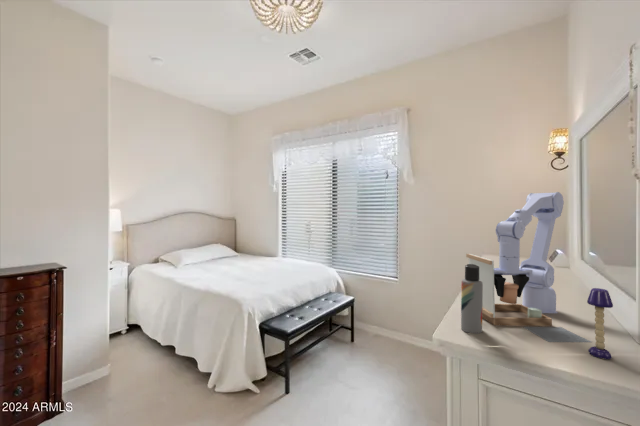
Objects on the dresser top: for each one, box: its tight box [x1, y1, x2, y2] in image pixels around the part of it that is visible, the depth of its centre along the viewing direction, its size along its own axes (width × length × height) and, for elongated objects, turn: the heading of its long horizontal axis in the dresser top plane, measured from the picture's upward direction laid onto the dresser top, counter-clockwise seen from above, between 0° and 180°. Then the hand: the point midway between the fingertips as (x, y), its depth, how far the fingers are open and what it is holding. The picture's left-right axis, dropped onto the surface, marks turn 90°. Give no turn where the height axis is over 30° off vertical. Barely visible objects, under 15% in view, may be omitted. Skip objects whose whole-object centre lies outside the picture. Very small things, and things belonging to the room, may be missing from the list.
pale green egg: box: [528, 308, 543, 318], centre depth 91 cm, size 4×4×4 cm
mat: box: [522, 326, 592, 343], centre depth 82 cm, size 12×10×1 cm
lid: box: [465, 253, 496, 318], centre depth 95 cm, size 18×14×1 cm
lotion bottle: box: [460, 263, 483, 334], centre depth 85 cm, size 6×6×20 cm
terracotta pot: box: [499, 281, 519, 304], centre depth 95 cm, size 5×5×6 cm
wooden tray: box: [482, 303, 553, 327], centre depth 95 cm, size 18×14×3 cm
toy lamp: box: [586, 287, 614, 360], centre depth 71 cm, size 5×5×17 cm
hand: (508, 296), depth 95 cm, fingers closed on terracotta pot, 5 cm apart
